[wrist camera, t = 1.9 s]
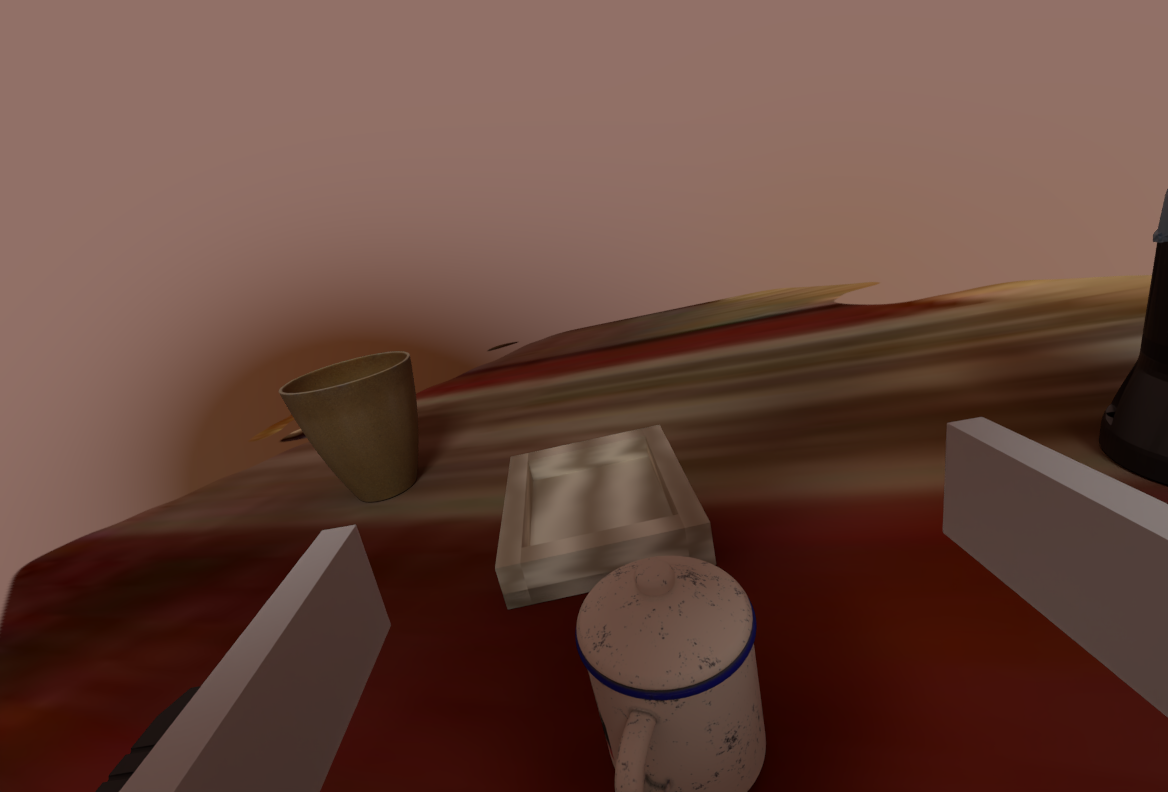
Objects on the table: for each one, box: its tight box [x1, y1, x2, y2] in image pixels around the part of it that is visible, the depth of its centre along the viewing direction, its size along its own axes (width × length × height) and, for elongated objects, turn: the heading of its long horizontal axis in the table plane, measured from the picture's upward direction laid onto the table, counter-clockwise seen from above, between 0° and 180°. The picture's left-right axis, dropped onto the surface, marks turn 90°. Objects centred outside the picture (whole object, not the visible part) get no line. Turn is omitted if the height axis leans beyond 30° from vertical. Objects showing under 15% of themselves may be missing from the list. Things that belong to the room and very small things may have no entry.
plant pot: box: [279, 351, 418, 502], centre depth 67 cm, size 15×15×16 cm
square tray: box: [495, 425, 716, 609], centre depth 52 cm, size 17×20×4 cm
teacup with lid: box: [575, 556, 766, 792], centre depth 27 cm, size 12×9×12 cm
